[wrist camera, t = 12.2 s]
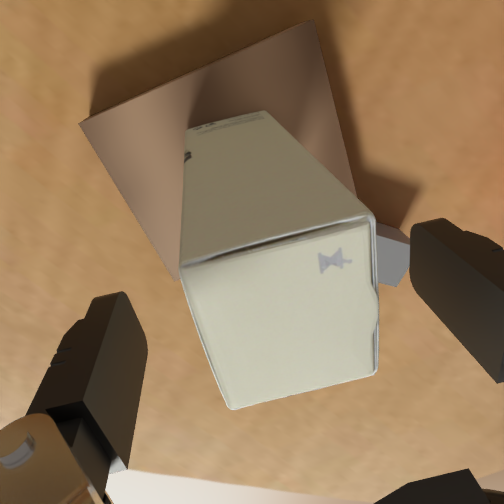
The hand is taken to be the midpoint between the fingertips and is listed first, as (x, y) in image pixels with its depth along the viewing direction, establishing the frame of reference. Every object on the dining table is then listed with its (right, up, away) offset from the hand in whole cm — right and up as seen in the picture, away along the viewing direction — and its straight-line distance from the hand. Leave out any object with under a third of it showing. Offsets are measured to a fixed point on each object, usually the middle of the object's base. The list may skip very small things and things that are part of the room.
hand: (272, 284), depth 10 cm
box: (-1, +5, +9) cm, 11 cm away
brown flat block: (-2, +6, +11) cm, 13 cm away
